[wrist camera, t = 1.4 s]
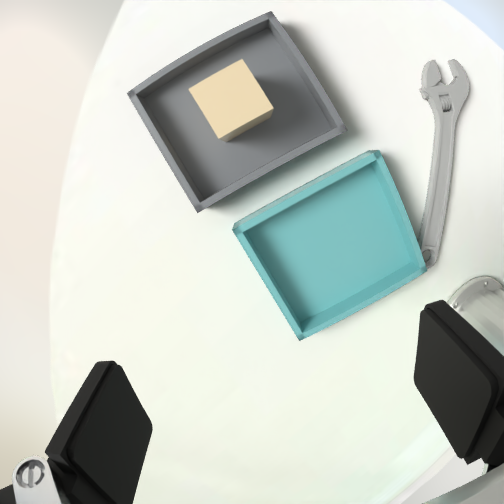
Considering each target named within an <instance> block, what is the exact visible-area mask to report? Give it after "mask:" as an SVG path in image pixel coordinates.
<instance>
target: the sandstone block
mask: <svg viewBox="0 0 504 504" xmlns="http://www.w3.org/2000/svg"><path fill="white" fill-rule="evenodd" d="M189 91H190V93H191V94H192V96H193V97H194V99H195V101H196V102H197V104H198V106H199V107H200V109H201V110H202V112H203V114H204V115H205V117H206V119H207V120H208V122H209V124H210V125H211V127H212V129H213V130H214V132H215V134H216V135H217V137H218V139H220V140H222V141H224V142H228V141H230V140H231V139H233V138H235V137H237V136H238V135H240V134H242V133H244V132H245V131H247V130H249V129H251V128H253V127H254V126H256V125H258V124H260V123H262V122H264V121H265V120H267V119H269V118H271V116H272V112H273V109H274V108H273V106H272V105H271V103H270V101H269V100H268V98H267V97H266V95H265V93H264V92H263V90H262V89H261V87H260V85H259V84H258V82H257V81H256V79H255V78H254V76H253V74H252V73H251V71H250V70H249V68H248V67H247V65H246V64H245V62H244V61H243V59H241V60H239V61H237V62H235V63H233V64H231V65H229V66H228V67H226V68H224V69H222V70H220V71H218V72H217V73H215V74H213V75H211V76H210V77H208V78H206V79H204V80H203V81H201V82H199V83H198V84H196V85H194V86H193V87H191V88H189Z"/></svg>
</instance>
